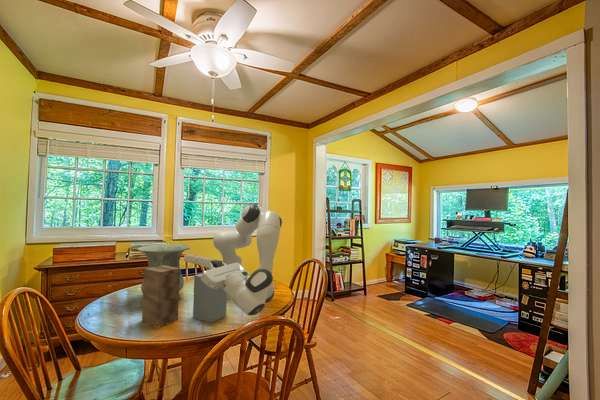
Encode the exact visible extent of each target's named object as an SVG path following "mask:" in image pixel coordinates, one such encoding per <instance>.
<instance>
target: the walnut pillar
mask: <svg viewBox="0 0 600 400" xmlns="http://www.w3.org/2000/svg"><path fill="white" fill-rule="evenodd" d="M180 270H181V267H180V268H176V267H171V266H166V265H162V266H157V267H151V268H148V267H146V268H144V269H143V279H144V284H143V293H142V307H141V308H142V313H141V322H143V323H145V322H146V323H145V324H148V325H150V324H151V325H150V326H152V325H153V327H155V326H156V327H155V328H157V327H158V328H160V327H162V325H163V326H165V325H164V324H166V325H168V324H170V322H171V323H173V322H176V321H178V320H179V302H180V300H179V295H180V291H179V278H180ZM175 320H176V321H175ZM172 321H173V322H172ZM167 323H168V324H167ZM159 326H160V327H159Z"/></svg>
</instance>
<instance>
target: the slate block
mask: <svg viewBox="0 0 600 400" xmlns="http://www.w3.org/2000/svg"><path fill="white" fill-rule="evenodd" d="M202 274H203V272H202V273H198V274H194V276H193V278H194V281H193V302H192V303H193V305H192V307H193V309H192V310H193V311H192V317H193V318H195V319H198V320H201V321H204V322H207V323H211V324H212V322H216V321H218V320H219V319H222V318H224V317H226V316H227V304H228V303H227V302H228V301H227V300H228V299H227V294H226V292H225V291H224V290H223V289H222V288H219V289H217V290H216V289H211V288H210V287H208V286H207V285H206V284H205V283H204V282H203V281H202V280H201V276H202Z"/></svg>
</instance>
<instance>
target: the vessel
mask: <svg viewBox="0 0 600 400" xmlns="http://www.w3.org/2000/svg"><path fill="white" fill-rule="evenodd" d="M190 249H191V245H187V244H181V243H164V244H163V243H160V244H150V245H142V246H139V247H137V248H136V250H137V251H138V252H140V253H143V254H144V255H145V256H146V259H147V263H148V264H147V268H151V267H157V266H162V265H166V266H171V267H176V268H180V278H179V292H180V291H181V290H182V289H183V288H184V284H185V280H184V276H183V274H182V271H181V266H180V262H181V256H182V254H183V253H184V252H185V251H188V250H190ZM143 284H144V278H143V279H142V282H141V287H140V290H141V293H142V294H143ZM181 298H182V297H181V295H180V294H179V301H180V299H181Z"/></svg>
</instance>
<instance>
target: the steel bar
mask: <svg viewBox="0 0 600 400" xmlns="http://www.w3.org/2000/svg"><path fill="white" fill-rule="evenodd" d="M183 262H186V263H189V264H194V265H198V266H202V267H206V268H209V267H208V263H209V262H212V263H213V264H214V265H213V267H215V268H218V267H222V262H223V260H220V259H215V258H211V257H205V256H201V255H197V254H196V255H195V254H193V253H187V254H184V255H183Z"/></svg>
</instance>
